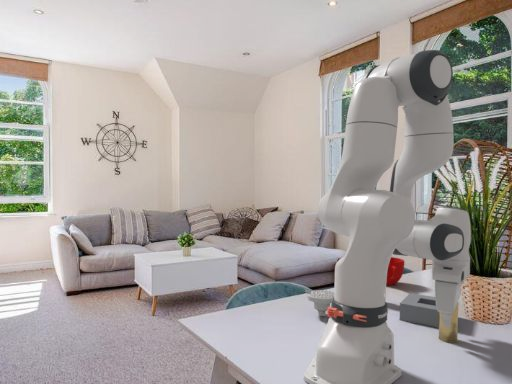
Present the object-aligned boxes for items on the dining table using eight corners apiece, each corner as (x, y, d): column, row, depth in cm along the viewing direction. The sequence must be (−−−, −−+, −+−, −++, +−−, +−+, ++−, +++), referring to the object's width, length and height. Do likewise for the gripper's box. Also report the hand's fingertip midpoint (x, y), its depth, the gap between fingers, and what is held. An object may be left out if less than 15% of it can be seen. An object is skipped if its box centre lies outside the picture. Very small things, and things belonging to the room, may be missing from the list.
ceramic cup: (378, 289, 150) (379, 263, 150) (367, 279, 167) (368, 256, 167) (412, 290, 150) (412, 265, 150) (397, 280, 167) (398, 256, 167)
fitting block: (451, 330, 109) (452, 312, 109) (399, 319, 116) (400, 303, 116) (456, 316, 121) (457, 300, 120) (409, 308, 128) (409, 293, 128)
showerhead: (306, 286, 125) (338, 288, 123) (305, 308, 125) (337, 311, 123) (304, 294, 116) (338, 296, 114) (303, 318, 116) (337, 321, 114)
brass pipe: (456, 344, 99) (457, 305, 99) (437, 340, 101) (438, 302, 101) (458, 338, 103) (459, 301, 103) (439, 335, 105) (441, 298, 105)
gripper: (442, 261, 112) (441, 308, 112) (431, 274, 95) (429, 330, 95) (467, 263, 109) (466, 313, 109) (460, 277, 92) (458, 336, 92)
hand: (449, 321), depth 102 cm, fingers open, 7 cm apart
